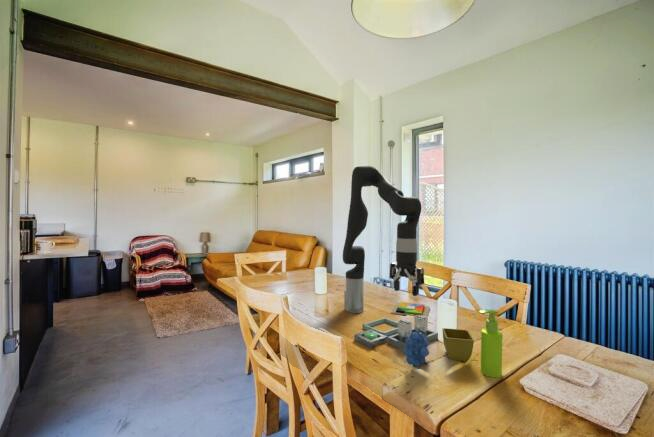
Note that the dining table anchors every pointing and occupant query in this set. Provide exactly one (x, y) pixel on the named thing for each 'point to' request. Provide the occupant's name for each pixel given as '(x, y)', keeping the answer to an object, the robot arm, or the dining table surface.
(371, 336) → the button
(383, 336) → the grey button housing
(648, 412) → the dining table surface
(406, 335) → the cylinder
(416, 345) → the grapes
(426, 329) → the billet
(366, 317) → the dining table surface
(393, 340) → the tray
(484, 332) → the soap dispenser
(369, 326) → the tray
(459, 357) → the flower pot
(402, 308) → the wooden puzzle
